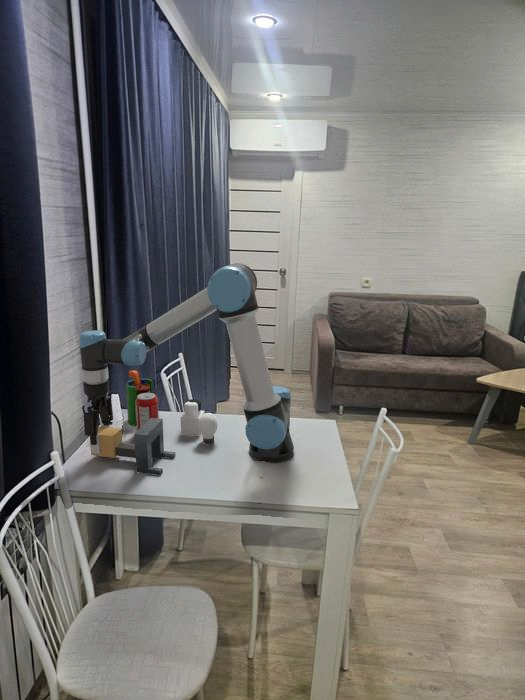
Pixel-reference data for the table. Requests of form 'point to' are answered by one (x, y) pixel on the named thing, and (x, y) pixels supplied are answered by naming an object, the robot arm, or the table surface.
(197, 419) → the medicine bottle
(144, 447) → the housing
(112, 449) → the plug
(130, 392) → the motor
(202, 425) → the light bulb
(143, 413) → the soda can
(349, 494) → the table surface
